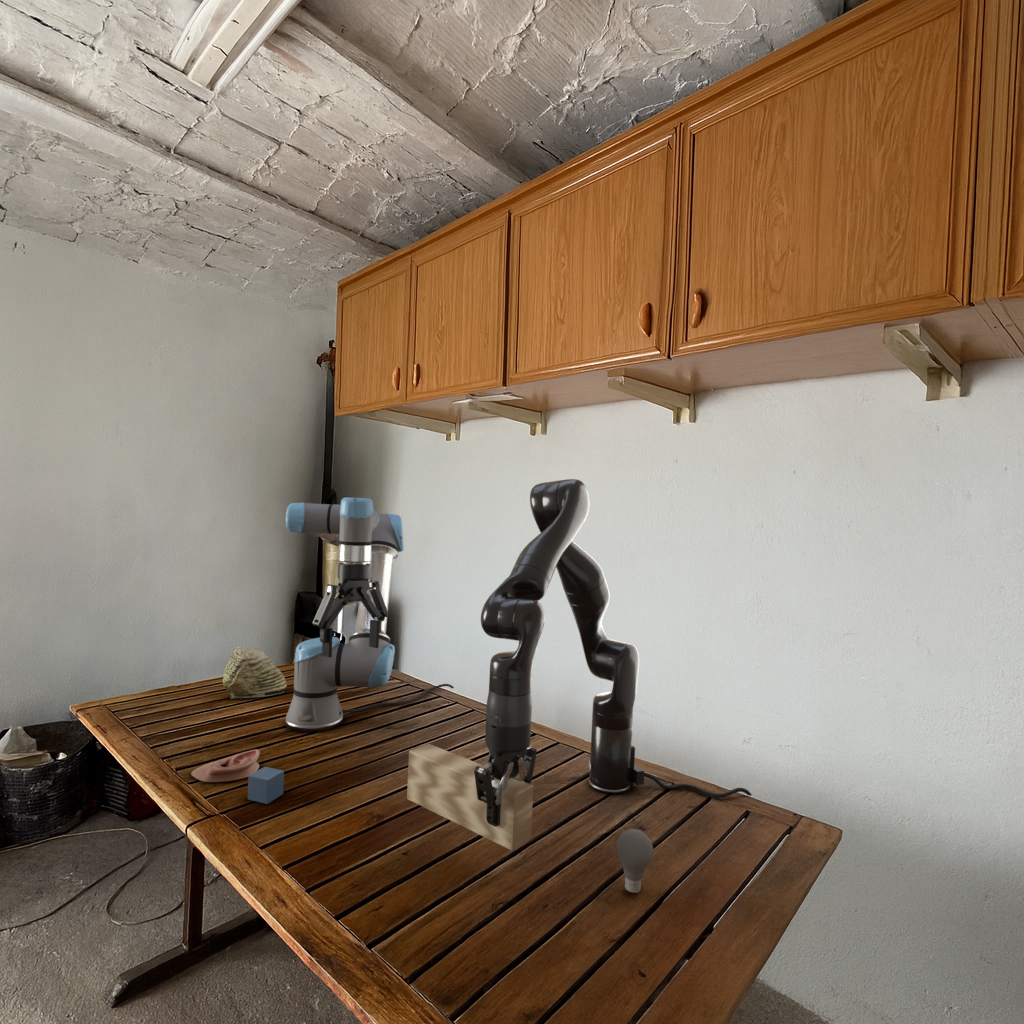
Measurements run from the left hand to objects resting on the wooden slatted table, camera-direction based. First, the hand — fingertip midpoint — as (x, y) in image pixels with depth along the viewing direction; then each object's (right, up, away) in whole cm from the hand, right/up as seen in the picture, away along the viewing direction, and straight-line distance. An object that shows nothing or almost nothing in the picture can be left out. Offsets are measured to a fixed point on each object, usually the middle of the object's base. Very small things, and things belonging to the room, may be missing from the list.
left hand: (351, 651), depth 151 cm
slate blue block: (-13, -27, -18) cm, 35 cm away
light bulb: (+58, -30, -45) cm, 80 cm away
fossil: (-42, -24, +47) cm, 68 cm away
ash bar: (+30, -20, -40) cm, 54 cm away
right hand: (+37, -18, -45) cm, 61 cm away
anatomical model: (-26, -26, -8) cm, 38 cm away
